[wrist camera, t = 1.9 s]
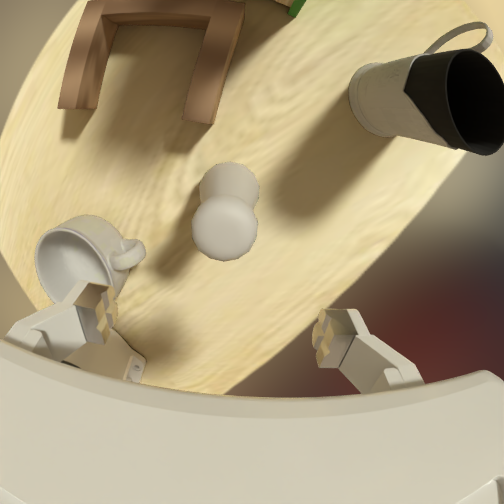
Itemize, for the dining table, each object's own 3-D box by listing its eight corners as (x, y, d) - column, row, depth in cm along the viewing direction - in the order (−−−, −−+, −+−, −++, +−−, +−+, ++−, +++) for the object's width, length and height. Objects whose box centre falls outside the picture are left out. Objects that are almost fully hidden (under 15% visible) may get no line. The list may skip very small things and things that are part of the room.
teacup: (79, 283, 33) (53, 318, 26) (57, 210, 28) (19, 236, 21) (170, 280, 33) (154, 322, 26) (153, 195, 28) (126, 221, 21)
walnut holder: (213, 123, 25) (208, 124, 21) (79, 107, 23) (57, 108, 19) (244, 19, 20) (245, 3, 16) (105, 12, 18) (87, 0, 14)
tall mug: (335, 109, 25) (418, 109, 12) (383, 17, 19) (467, -21, 6) (396, 151, 27) (491, 188, 14) (438, 62, 21) (530, 58, 8)
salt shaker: (209, 216, 30) (189, 282, 18) (196, 165, 27) (164, 201, 16) (262, 206, 30) (277, 268, 18) (253, 153, 27) (262, 181, 15)
